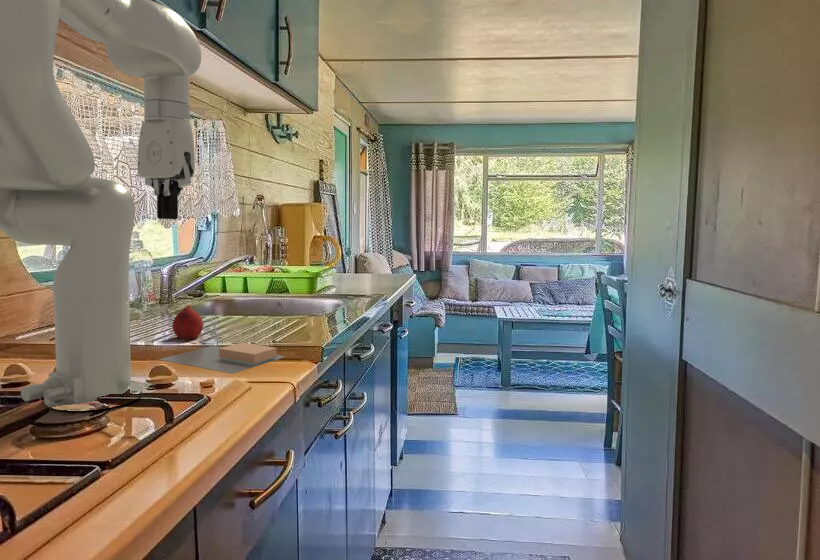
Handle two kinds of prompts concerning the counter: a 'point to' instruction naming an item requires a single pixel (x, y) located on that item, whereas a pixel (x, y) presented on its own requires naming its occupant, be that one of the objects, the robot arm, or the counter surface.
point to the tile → (247, 353)
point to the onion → (187, 324)
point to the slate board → (211, 360)
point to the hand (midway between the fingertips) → (167, 218)
